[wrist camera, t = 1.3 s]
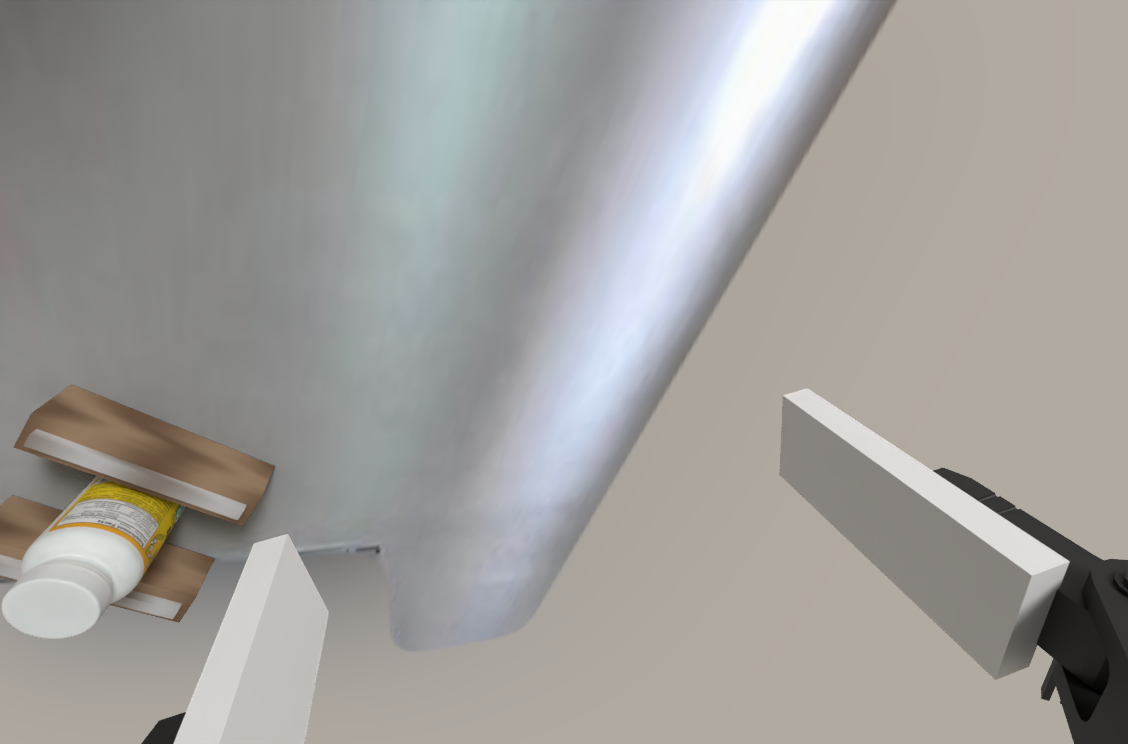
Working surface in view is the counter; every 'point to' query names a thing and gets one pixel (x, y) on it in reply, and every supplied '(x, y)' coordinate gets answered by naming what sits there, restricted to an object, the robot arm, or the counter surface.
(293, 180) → the counter surface
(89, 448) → the wooden blocks
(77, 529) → the supplement bottle
